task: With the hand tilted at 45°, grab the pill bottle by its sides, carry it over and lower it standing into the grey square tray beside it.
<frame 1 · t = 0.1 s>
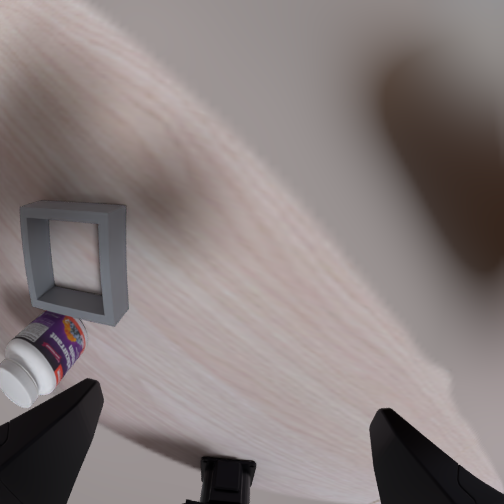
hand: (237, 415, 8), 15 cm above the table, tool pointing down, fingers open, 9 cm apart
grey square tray: (81, 253, 23), on the table
pill bottle: (67, 327, 25), on the table
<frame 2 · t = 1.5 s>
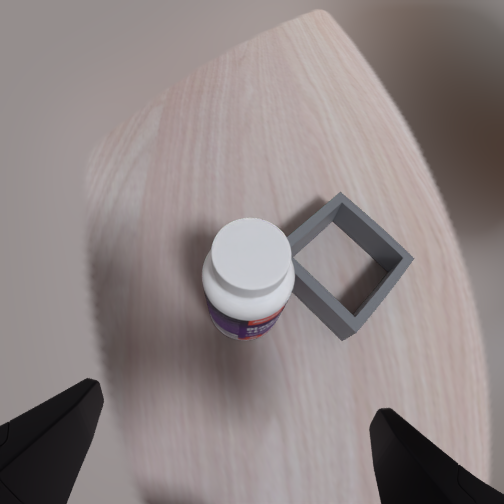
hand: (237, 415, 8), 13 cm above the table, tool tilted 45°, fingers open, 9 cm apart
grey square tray: (337, 270, 26), on the table
pill bottle: (244, 308, 24), on the table
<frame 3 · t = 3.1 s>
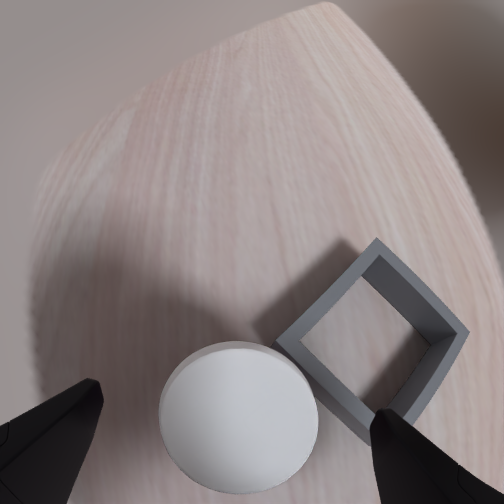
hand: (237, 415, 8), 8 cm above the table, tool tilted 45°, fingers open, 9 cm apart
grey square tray: (367, 349, 17), on the table
pill bottle: (235, 409, 15), on the table
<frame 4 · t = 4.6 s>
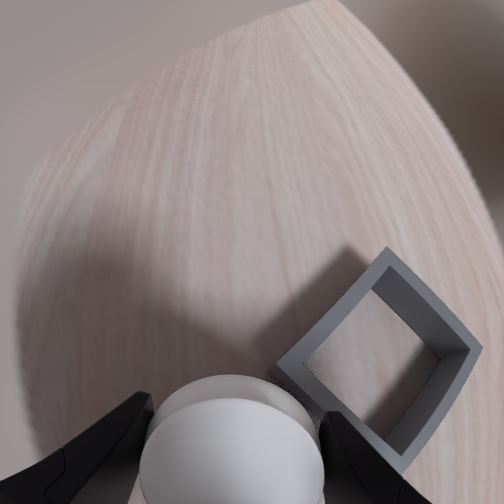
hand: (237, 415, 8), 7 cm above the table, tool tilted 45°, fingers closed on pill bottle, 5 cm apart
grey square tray: (374, 366, 15), on the table
pill bottle: (232, 433, 14), on the table, touching gripper
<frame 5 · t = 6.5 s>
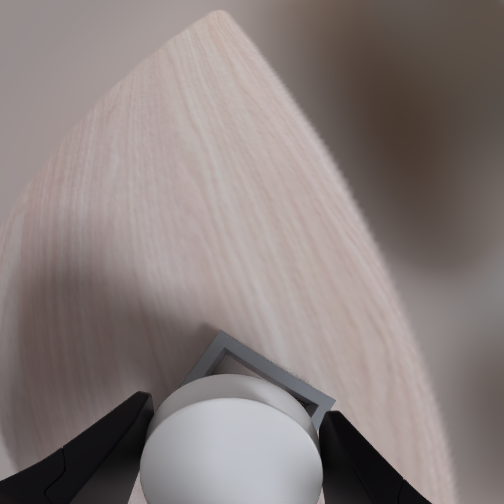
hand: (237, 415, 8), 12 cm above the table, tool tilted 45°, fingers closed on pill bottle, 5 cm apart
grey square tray: (239, 419, 19), on the table
pill bottle: (232, 431, 14), point 6 cm above the table, touching gripper
when the fingers open (8 cm above the table, at t = 8.3 s): pill bottle drops 1 cm, resting in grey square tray.
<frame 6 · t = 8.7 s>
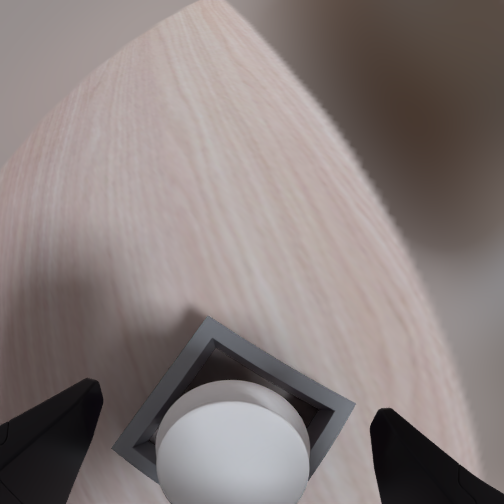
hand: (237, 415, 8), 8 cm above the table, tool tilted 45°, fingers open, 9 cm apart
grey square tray: (233, 429, 15), on the table
pill bottle: (233, 431, 15), resting in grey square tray
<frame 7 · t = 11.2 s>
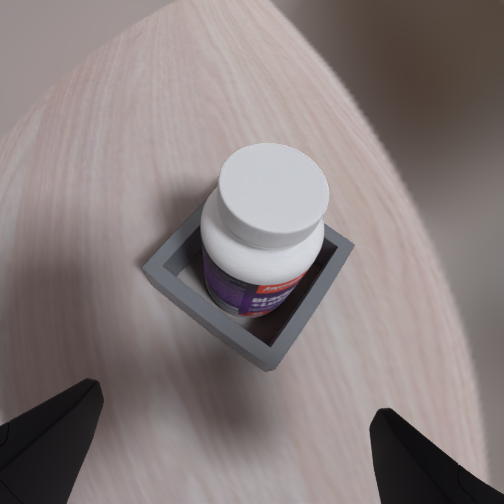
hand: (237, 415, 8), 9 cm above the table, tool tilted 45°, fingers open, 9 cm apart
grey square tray: (249, 275, 19), on the table
pill bottle: (248, 278, 19), resting in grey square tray
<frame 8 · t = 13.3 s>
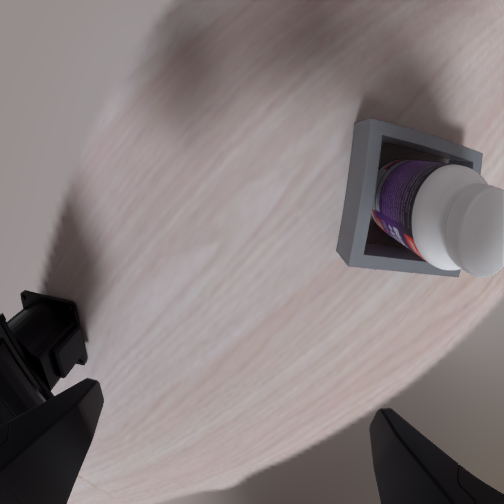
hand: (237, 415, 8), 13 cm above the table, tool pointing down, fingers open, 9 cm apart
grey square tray: (403, 197, 19), on the table
pill bottle: (400, 197, 19), resting in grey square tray
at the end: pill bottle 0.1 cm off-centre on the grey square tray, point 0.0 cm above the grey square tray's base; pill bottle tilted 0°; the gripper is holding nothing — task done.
